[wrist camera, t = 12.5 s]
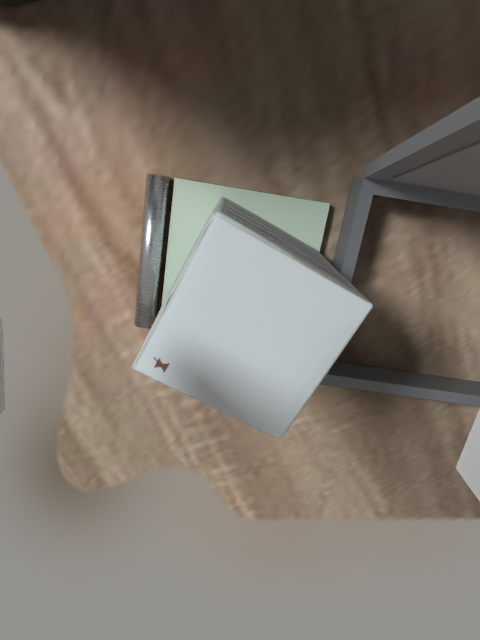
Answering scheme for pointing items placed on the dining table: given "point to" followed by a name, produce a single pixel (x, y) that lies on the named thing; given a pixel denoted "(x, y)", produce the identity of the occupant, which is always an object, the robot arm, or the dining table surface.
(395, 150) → the lid
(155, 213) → the rod
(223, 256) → the supplement box
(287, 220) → the mat
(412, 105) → the dining table surface
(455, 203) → the grey square frame
